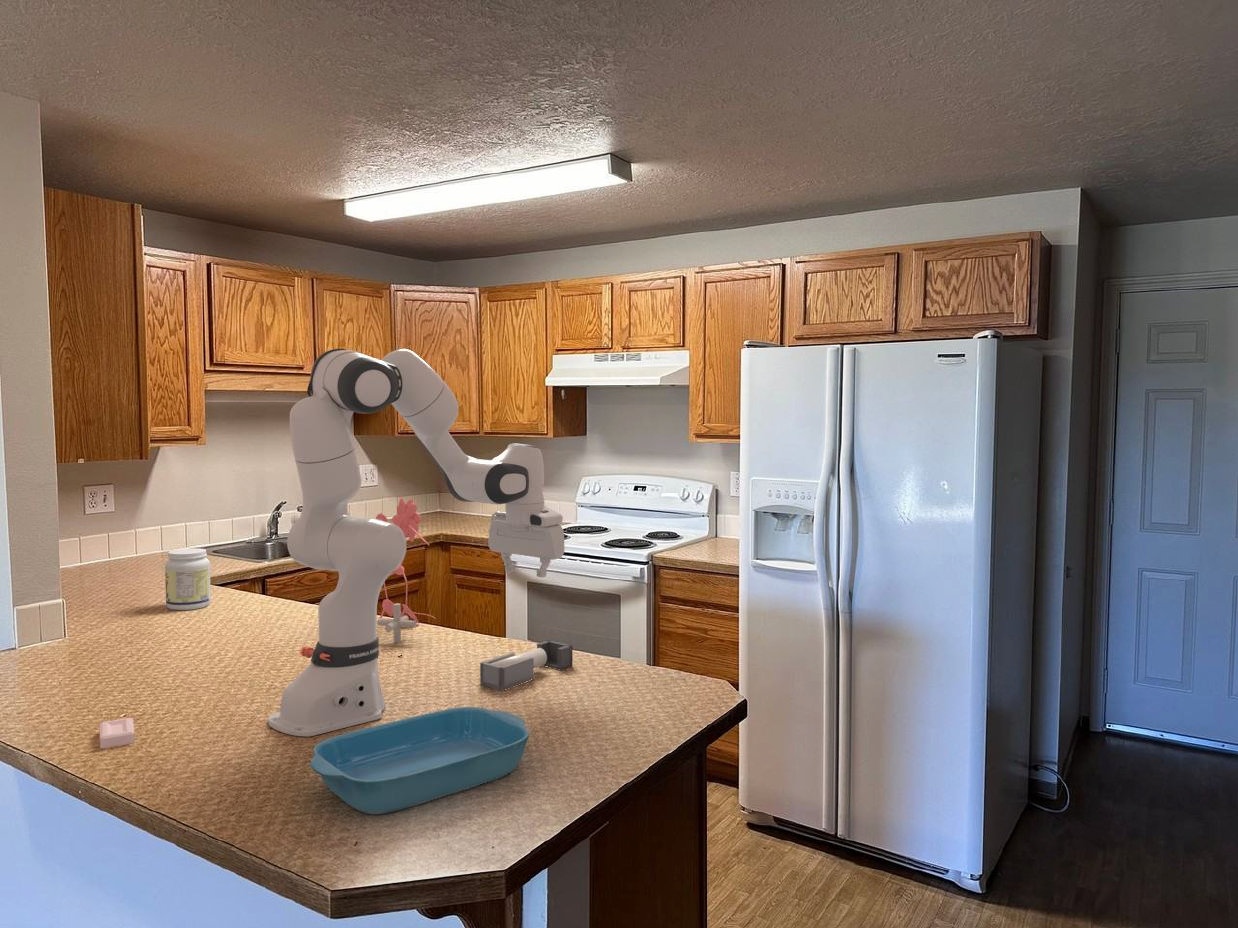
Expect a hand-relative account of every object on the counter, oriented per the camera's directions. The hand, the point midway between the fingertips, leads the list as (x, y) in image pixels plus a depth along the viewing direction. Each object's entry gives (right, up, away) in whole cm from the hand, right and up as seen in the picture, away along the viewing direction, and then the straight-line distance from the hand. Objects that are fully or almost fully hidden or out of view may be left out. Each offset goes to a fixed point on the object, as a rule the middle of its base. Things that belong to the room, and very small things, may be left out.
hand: (525, 574), depth 200 cm
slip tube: (-1, -22, -4) cm, 22 cm away
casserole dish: (-11, -27, -56) cm, 63 cm away
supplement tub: (-109, -18, +63) cm, 127 cm away
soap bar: (-71, -26, -39) cm, 85 cm away
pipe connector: (-36, -21, +25) cm, 49 cm away
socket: (+6, -22, +6) cm, 24 cm away
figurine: (-39, -19, +49) cm, 65 cm away
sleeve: (-3, -23, -6) cm, 24 cm away
